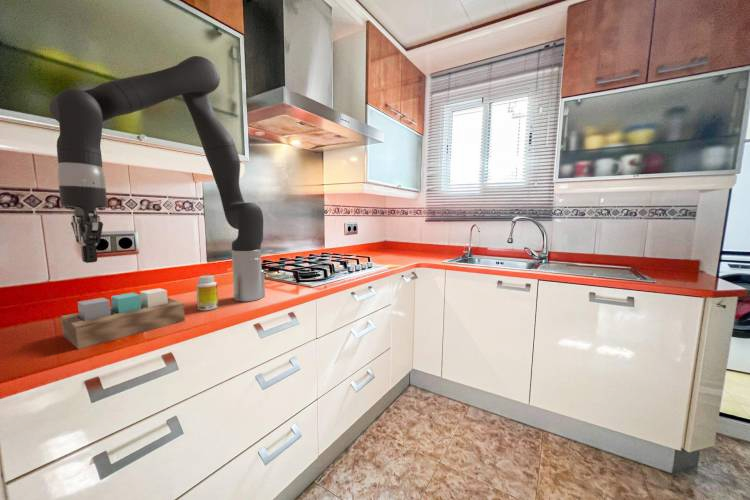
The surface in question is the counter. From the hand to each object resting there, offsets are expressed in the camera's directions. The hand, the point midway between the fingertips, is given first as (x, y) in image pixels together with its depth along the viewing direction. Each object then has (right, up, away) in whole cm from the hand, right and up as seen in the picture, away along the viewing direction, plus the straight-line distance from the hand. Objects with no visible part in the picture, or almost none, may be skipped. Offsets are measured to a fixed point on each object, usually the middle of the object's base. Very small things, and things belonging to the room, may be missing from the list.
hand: (90, 262), depth 68 cm
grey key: (0, -13, +1) cm, 13 cm away
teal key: (+3, -13, +6) cm, 15 cm away
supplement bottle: (+14, -16, +24) cm, 32 cm away
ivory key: (+6, -12, +11) cm, 18 cm away
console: (+3, -17, +7) cm, 19 cm away
